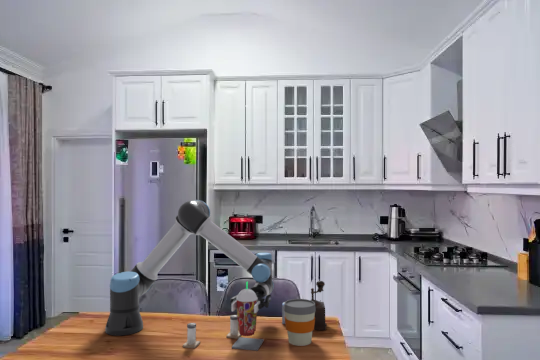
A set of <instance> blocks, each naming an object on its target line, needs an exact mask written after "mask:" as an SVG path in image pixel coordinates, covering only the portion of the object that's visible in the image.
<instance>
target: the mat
mask: <svg viewBox="0 0 540 360" xmlns="http://www.w3.org/2000/svg"><path fill="white" fill-rule="evenodd" d="M264 340H265V339H264V338H255V337H254V338H253V337H244V336H242V337H241V336H240V337H239V338H238V339H236V341H235V342H234V343H233V344H232V346H231V349H235V350H247V351H259V349H260V348H261V346H262V344H263V342H264Z"/></svg>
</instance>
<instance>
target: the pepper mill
mask: <svg viewBox="0 0 540 360" xmlns="http://www.w3.org/2000/svg"><path fill="white" fill-rule="evenodd" d="M315 284H316V287H317V290H315V289H314V288H313V287H312V288H311V289H310V290H311V291H310V293H311V299H310V300H311V301H313V302H315V308H316V311H315V315H314V317H315V324H314V330H313V331H326V330H327V328H326V327H327V323H326V306H325V305H326V304H325V303H324V301H322V300H320V299H319V300H317V299H315V297H314V295H315V294H319V293H322V292H324V287H325V285H326V284H325V282H324V281H323V280H318V281H316V283H315ZM314 290H315V291H314Z"/></svg>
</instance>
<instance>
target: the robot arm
mask: <svg viewBox="0 0 540 360" xmlns="http://www.w3.org/2000/svg"><path fill="white" fill-rule="evenodd" d="M174 221H175V223H174V224H173V225H172V226H171V227H170V228H169V230H168V231H167V232H166V234H164V236H163V237H162V238H161V240H159V242H158V243H157V245H155V246H154V248H153V249H152V250H151V251H150V252H149V254H148V255H147V256H146V258H145V259H144V260H143V261H139V262H137V263H136V264H135V265H134V266H133V268H132V269H131V270H129V271H122V272H117V273H116V274H113V276H112V277H110V283H109V315H108V318H107V321H106V323H105V326H104V327H105V333H106V335H110V336H128V335H132V334H133V335H134V334H136V333H139V332H141V331H142V330H143V329H144V322H143V318H142V316H141V313H140V297H142V296H143V295H144V294H146V293H149V291H150V290H151V288H152V287H153V285H154V284H155V282H156V281H157V280H158V279H159V278H158V274H159V273H160V271H161V270H162V269H163V267H164V266H165V265H166V264H167V263H168V261H170V260H171V258H172V257H173V256H174V254H175V253H176V252H177V251H178V250H179V248H181V246H182V245H183V244H184V242H185V241H186V240H187V239H188V238H189V236H190V235H195V236H200V237H202V238H203V239H205V240H206V241H207V242H208V243H210V244H211V245H212V246H213V247H215V248H216V249H217V250H218V251H220V252H221V253H222V254H224V255H225V257H228V258H229V259H230V260H232V261H233V262H234V263H236V264H237V265H238V266H240V267H241V268H242V269H243V270H245V271H246V272H247V273H248V274H250V276H251V277H252V278H253V280H254V281H255V284H254V285H252V287H250V289H251V290H253V291H254V292H255V294H256V296H257V297H258V301H257V303H256V304H255V305H254V313H256V312H257V313H258V311H259V310H262V309H263V308H264V307H265V308H269V306H270V302H272V298H271V297H272V292H273V290H274V288H275V283H274V281H273V256H272V253H270V252H258V253H256V254H254V252H252V251H251V250H250V249H248V248H247V247H245V246H244V245H243V244H242V243H241V242H239V241H238V240H236V239H235V238H234V237H232V236H231V235H230V234H229V233H227V232H226V231H225V230H224V229H222V228H221V227H220V226H218V225H217V224H216V223H214V222H213V221H212V219H211V209H210V207H209V205H208V204H207V203H206V202H204V201H203V200H200V199H194V200H188V201H185V202H184V203H182V204H181V205H180V207H179V209H178V210H177V215H176V216H175V218H174ZM237 296H238V294H235V296H232V297H231V298H230V303H229V305H230V306H231V307H230V309H231V312H235V310H237V302H236V298H237Z"/></svg>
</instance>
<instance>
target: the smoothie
mask: <svg viewBox="0 0 540 360" xmlns="http://www.w3.org/2000/svg"><path fill="white" fill-rule="evenodd" d="M248 286H249V281H246V282H245V288H243V289H241V290H240V291H239V292H238V294H237V295H238V296H237V298H236V302H237V309H236V315H237V318H238V332H239V333H240V335H241V336H242V337H251V336H254V335H255V332H256V331H257V318H258V317H257V316H258V311H257V312H256V313H254V305H255V304H256V303H257V301H258V297H257V296H256V294H255V292H254V291H253V290H251V288H249V287H248Z"/></svg>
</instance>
